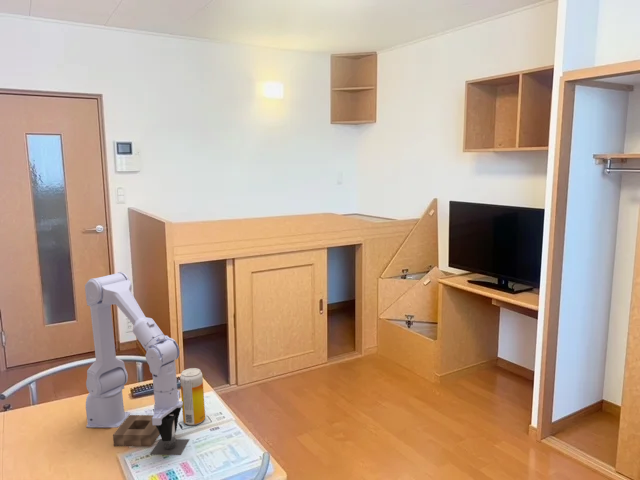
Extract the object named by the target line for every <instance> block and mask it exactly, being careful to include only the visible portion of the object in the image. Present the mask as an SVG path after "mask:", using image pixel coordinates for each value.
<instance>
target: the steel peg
mask: <svg viewBox="0 0 640 480" xmlns="http://www.w3.org/2000/svg"><path fill="white" fill-rule="evenodd" d="M169 416H174V413H173V412H170V413H169ZM176 439H177V438H176V433H175V424H174V422H173V426H172V438H171V441H164V449H165V450H172V449H174V448H175V447H176Z"/></svg>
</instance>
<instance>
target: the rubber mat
mask: <svg viewBox="0 0 640 480" xmlns="http://www.w3.org/2000/svg"><path fill="white" fill-rule="evenodd" d="M189 441H190V438H187V439H186V438H176V447H175V448H174V449H172V450H165V449H164V441H162V438H160V439H159V440H158V441H157V444H156V445H155V446H154V448H153V449H152V450H151V452H150V453H149V456H150V455H151V456H161V455H162V456H182V454H183V452H184V450H185V449H186V447H187V444H188V443H189Z"/></svg>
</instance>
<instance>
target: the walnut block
mask: <svg viewBox="0 0 640 480" xmlns="http://www.w3.org/2000/svg"><path fill="white" fill-rule="evenodd" d="M153 415H154V414H150V415H149V414H148V415H147V414H144V415H143V414H130V415H129V416H128V417H127V418H126V419H125V421H124V422H123V423H122V424H121V425H120V427H118V428H116V430H115V432H114V433H113V434H112V440H113V446H114V447H137V448H138V447H140V448H141V447H142V448H143V447H144V448H145V447H147V448H149V447H150V448H151V447H152V446H153V445H154V444H155V442H156V440H157V439H158V438H159V436H160V433H159V431H158V429H157V427H156V426H155V425H152V417H153Z"/></svg>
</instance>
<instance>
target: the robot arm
mask: <svg viewBox="0 0 640 480" xmlns="http://www.w3.org/2000/svg"><path fill="white" fill-rule="evenodd" d="M132 286H133V285H132V281H130V278H129V277H128V275H127V274H126V273H125V272H122V271H119V272H116V273H112V274H109V275H104V276H100V277H95V278H94V277H93V278H90V279H88V281H87V282H86V283H85V284H84V291H85V293H84V294H85V299H86V300H85V301H86V306H88V307H89V309H90V317H91V326H92V327H91V328H92V336H93V344H94V353H95V354H94V355H95V356H94V357H95V361H94V362H93V363H92V364H91V365H90V367H89V368H88V369H87V370H86V376H87V377H86V382H85V386H86V389H87V391H88V395H87V397H86V400H85V411H86V412H85V413H86V420H87V424H86V425H85V426H86V428H95V429H96V428H100V429H103V428H106V429H107V428H109V429H110V428H111V429H112V428H116V429H118V428H119V427H120V426H121V425H122V423H123V422H124V421H125V420H126V419H127V418H128V416H129V415H131V411H125V406H124V397H123V395H124V394H123V390H124V389H125V385H126V384H127V382H128V378H129V375H128V372H127V369H126V365H125V362H124V360H122V359H120V358H118V357H117V355H116V345H115V337H114V327H113V324H114V323H113V317H112V305H116V306H117V307H118V308H119V310H120V311H121V312H122V313H123V314H124V315H125V317H126V318H127V319H128V320H129V321H130V323H131V324H132V325H133V327H132V333H133V334H134V336H135V337H136V339H137V340H138V342H139V344H141V346H142V347H143V349H144V350H145V351H146V354H145V356H144V357H145V360H146V362H147V365H148V366H149V371H150V374H152V375H151V376H152V384H153V385H152V386H153V387H152V388H153V397H154V398H153V399H154V405H153V414H152V415H153V417H152V425H155V426H156V427H157V429H158V431H159V433H160V435H159V436H160V439H162V441H171V438H172V426H173V422H174V424H175V434H176V432H177V428H178V423H179V416H180V413H181V411H182V405H183V402H182V401H180V398H181V389H180V390H179V389H178V379H177V367H176V360H178V359H179V357H180V354H181V353H180V348H179V344H178V343H177V342H176V340H175V338H172V337H169V335H168V334H167V335H165V334H164V333H163V331H162V330H161V329H160V327H159V325H158V324H157V323H156V322H155V320H154V319H153V318H151V317H146V315H145V314H144V312H143V310H142V309H141V307H140V305H139V303H138V301H137V300H136V298H135V296H134V294H133V293H132V290H133V289H132ZM170 412H173V413H174V416H169V413H170Z"/></svg>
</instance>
